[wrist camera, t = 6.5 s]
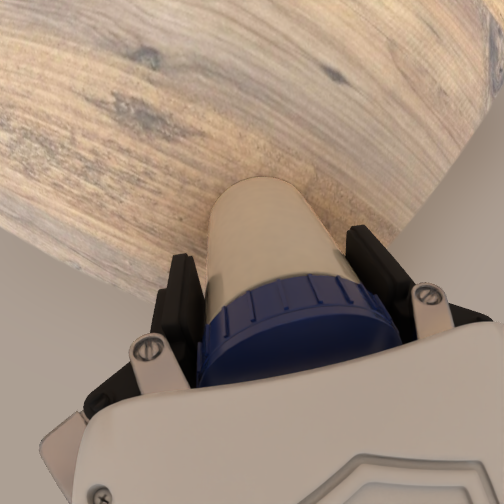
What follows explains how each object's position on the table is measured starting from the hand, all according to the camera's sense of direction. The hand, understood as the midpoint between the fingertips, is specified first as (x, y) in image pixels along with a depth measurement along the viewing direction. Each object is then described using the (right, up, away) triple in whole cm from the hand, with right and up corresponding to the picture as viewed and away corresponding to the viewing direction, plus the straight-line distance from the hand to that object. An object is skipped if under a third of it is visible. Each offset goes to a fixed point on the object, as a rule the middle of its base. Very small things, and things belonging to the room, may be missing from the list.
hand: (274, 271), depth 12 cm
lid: (+1, -3, -4) cm, 5 cm away
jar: (0, +2, +5) cm, 6 cm away
